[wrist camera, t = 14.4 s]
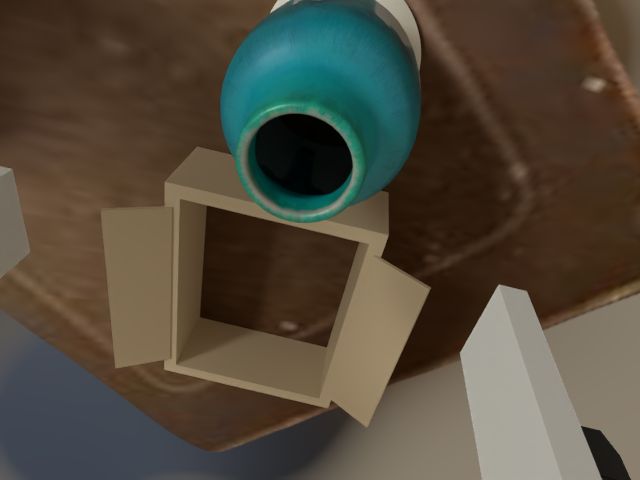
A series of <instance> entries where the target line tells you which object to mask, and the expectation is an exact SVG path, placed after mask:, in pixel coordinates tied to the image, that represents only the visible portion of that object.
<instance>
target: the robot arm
mask: <svg viewBox="0 0 640 480" xmlns="http://www.w3.org/2000/svg"><path fill="white" fill-rule="evenodd" d="M29 253H30V248H29V244H28V239H27V234H26V230H25V225H24V220H23V216H22V211H21V207H20V202H19V197H18V193H17V188H16V183H15V179H14V174H13V169H10V168H5V167H1V166H0V278H1V277H2V276H4V275H5V274H6V273H7V272H8V271H9V270H10V269H12V268H13V267H14V266H15V265H16V264H17V263H18V262H20V261H21V260H22V259H23V258H24V257H25V256H26V255H27V254H29ZM460 356H461V362H462V367H463V373H464V379H465V385H466V390H467V395H468V401H469V407H470V412H471V418H472V424H473V430H474V435H475V440H476V446H477V452H478V458H479V463H480V469H481V475H482V480H631V479H630V477H629V475H628V472H627V470H626V468H625V466H624V464H623V461H622V459H621V457H620V455H619V454H618V453H617V451H616V450H615V449H614V448H613V446H612V445H611V444H610V443H609V441H608V440H607V439H606V437H605V436H604V435H603V434H602V432H601V431H600V430H595V429H591V428H587V427H583V426H580V423H579V421H578V418H577V416H576V414H575V411H574V408H573V406H572V404H571V401H570V398H569V396H568V393H567V391H566V388H565V386H564V383H563V381H562V378H561V376H560V374H559V371H558V368H557V366H556V363H555V361H554V358H553V356H552V353H551V351H550V348H549V346H548V344H547V341H546V338H545V336H544V333H543V331H542V328H541V326H540V323H539V321H538V318H537V316H536V313H535V311H534V308H533V306H532V303H531V301H530V298H529V296H528V293H527V291H524V290H520V289H515V288H511V287H507V286H503V285H498V287H497V289H496V290H495V292H494V294H493V296H492V297H491V299H490V301H489V303H488V304H487V306H486V308H485V310H484V311H483V313H482V315H481V317H480V319H479V320H478V322H477V324H476V326H475V327H474V329H473V331H472V333H471V334H470V336H469V338H468V340H467V342H466V343H465V345H464V347H463V349H462V350H461V352H460Z"/></svg>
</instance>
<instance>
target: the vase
mask: <svg viewBox="0 0 640 480" xmlns="http://www.w3.org/2000/svg"><path fill="white" fill-rule="evenodd" d="M421 100H422V97H421V84H420V74H419V69H418V65H417V61H416V57H415V53H414V50H413V48H412V45H411V43H410V41H409V38H408V36H407V34H406V32H405V31H404V29H403V28H402V26H401V25H400V23H399V21H398V20H397V19H396V18H395V17H394V16H393V15H392V14H391V12H390V11H389V10H388V9H386V8H385V7H384V6H383V5H381V4H380V3H379V2H377V1H376V0H290V1H288V2H286V3H285V4H283V5H282V6H280V7H279V8H277V9H276V10H274V11H273V12H271V13H270V14H269V15H267V16H266V17H265V18H264V19H263V20H262V21H261V22H260V23H259V24H258V25H257V26H256V27H254V28H253V29H252V31H251V32H250V33H249V34H248V35H247V37H246V38H245V39H244V41H243V42H242V43H241V45H240V46H239V48H238V49H237V51H236V53H235V55H234V57H233V59H232V61H231V63H230V65H229V67H228V69H227V72H226V75H225V79H224V82H223V86H222V93H221V100H220V115H221V123H222V129H223V133H224V136H225V139H226V142H227V146H228V148H229V150H230V152H231V154H232V156H233V158H234V160H235V164H236V170H237V173H238V176H239V179H240V181H241V183H242V185H243V187H244V189H245V191H246V192H247V193H248V195H249V196H250V198H251V199H252V200H253V201H254V202H255V203H256V204H257V205H258V206H260V207H261V208H262V209H263V210H265V211H267V212H268V213H270V214H271V215H273V216H276V217H278V218H280V219H283V220H287V221H290V222H297V223H313V222H319V221H323V220H327V219H329V218H331V217H334V216H336V215H338V214H339V213H341V212H342V211H344V210H345V209H346V208H347V207H350V206H353V205H356V204H358V203H360V202H362V201H365V200H367V199H369V198H370V197H372V196H373V195H375V194H377V193H378V192H380V191H381V190H382V189H383V188H384V187H385V186H387V185H388V184H389V183H390V182H391V181H392V180H393V178H394V177H395V176H396V175H397V174H398V173H399V171H400V170H401V168H402V167H403V165H404V164H405V162H406V160H407V159H408V157H409V154H410V152H411V150H412V147H413V145H414V142H415V139H416V135H417V131H418V127H419V122H420V114H421Z"/></svg>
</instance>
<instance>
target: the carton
mask: <svg viewBox="0 0 640 480" xmlns="http://www.w3.org/2000/svg"><path fill="white" fill-rule="evenodd" d="M207 205H208V206H212V207H216V208H220V209H224V210H229V211H233V212H237V213H241V214H245V215H249V216H254V217H258V218H262V219H266V220H270V221H274V222H279V223H283V224H287V225H291V226H295V227H300V228H304V229H308V230H312V231H316V232H320V233H325V234H329V235H333V236H337V237H341V238H345V239H350V240H354V241H358V242H359V245H358V248H357V251H356V254H355V258H354V261H353V264H352V267H351V271H350V274H349V277H348V280H347V284H346V287H345V290H344V293H343V297H342V300H341V303H340V306H339V310H338V313H337V316H336V319H335V323H334V326H333V329H332V332H331V336H330V339H329V342H328V345H327V347H323V346H319V345H315V344H310V343H306V342H302V341H298V340H294V339H289V338H285V337H281V336H277V335H273V334H268V333H264V332H260V331H256V330H252V329H247V328H243V327H239V326H235V325H231V324H226V323H222V322H218V321H214V320H210V319H205V318H201V317H200V306H201V290H202V274H203V259H204V243H205V228H206V212H207ZM101 220H102V230H103V241H104V251H105V262H106V272H107V283H108V293H109V304H110V315H111V325H112V336H113V346H114V357H115V367H116V368H120V367H126V366H132V365H137V364H143V363H149V362H154V361H160V360H164V370H168V371H173V372H177V373H181V374H185V375H189V376H194V377H198V378H202V379H206V380H211V381H215V382H219V383H223V384H228V385H232V386H236V387H240V388H244V389H249V390H253V391H257V392H261V393H266V394H270V395H274V396H278V397H282V398H287V399H291V400H295V401H299V402H304V403H308V404H312V405H316V406H320V407H325V408H328V407H329V404H330V402H331V400H332V401H334V402H335V403H336V404H337V405H339V406H340V407H341V408H342V409H344V410H345V411H346V412H348V413H349V414H350V415H351V416H353V417H354V418H355V419H356V420H358V421H359V422H360V423H361V424H363V425H364V426H365V427H368V426H369V423H370V421H371V419H372V417H373V415H374V412H375V410H376V408H377V406H378V404H379V402H380V399H381V397H382V395H383V393H384V391H385V388H386V386H387V384H388V382H389V380H390V377H391V375H392V373H393V371H394V368H395V366H396V364H397V362H398V360H399V357H400V355H401V353H402V351H403V349H404V346H405V344H406V342H407V340H408V338H409V335H410V333H411V331H412V329H413V327H414V324H415V322H416V320H417V318H418V316H419V313H420V311H421V309H422V307H423V305H424V302H425V300H426V298H427V296H428V293H429V291H430V289H431V287H429V286H428V285H426V284H424V283H422V282H421V281H419V280H417V279H416V278H414V277H412V276H411V275H409V274H407V273H406V272H404V271H402V270H400V269H399V268H397V267H395V266H394V265H392V264H390V263H389V262H387V261H385V260H384V259H382V258H381V256H382V253H383V250H384V247H385V245H386V242H387V239H388V236H389V192H385V191H380V192H378V193H377V194H375V195H373V196H372V197H370V198H369V199H367V200H365V201H362V202H360V203H358V204H356V205H353V206H350V207H347V208H346V209H345V210H344V211H342V212H341V213H339V214H338V215H336V216H334V217H331V218H329V219H327V220H323V221H319V222H313V223H297V222H290V221H287V220H283V219H280V218H278V217H276V216H273V215H271V214H270V213H268V212H267V211H265V210H263V209H262V208H261V207H260V206H258V205H257V204H256V203H255V202H254V201H253V200H252V199H251V198H250V196H249V195H248V193H247V192H246V191H245V189H244V187H243V185H242V183H241V181H240V179H239V176H238V173H237V170H236V164H235V160H234V158H233V156H232V155H231V154H227V153H223V152H218V151H214V150H210V149H206V148H202V147H198V146H197V147H196V148H195V149H194V150H193V152H192V153H191V154H190V155H189V156H188V157H187V158H186V159H185V160H184V161H183V162H182V163H181V164H180V166H179V167H178V168H177V169H176V170H175V171H174V172H173V173H172V174H171V175H170V176H169V177H168V178H167V180H166V181H165V206H152V207H127V208H101Z"/></svg>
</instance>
